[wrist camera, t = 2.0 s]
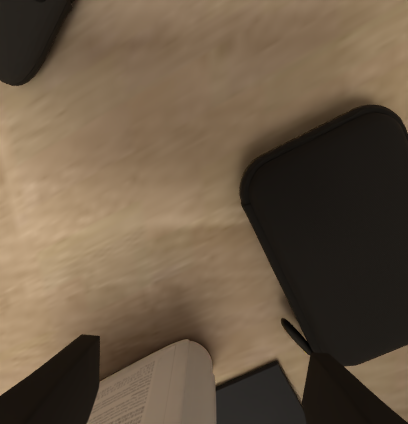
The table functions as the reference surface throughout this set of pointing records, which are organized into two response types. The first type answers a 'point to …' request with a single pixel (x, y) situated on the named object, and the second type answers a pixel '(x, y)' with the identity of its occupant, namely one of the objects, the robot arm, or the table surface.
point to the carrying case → (338, 231)
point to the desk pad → (259, 399)
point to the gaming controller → (28, 36)
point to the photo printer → (160, 389)
